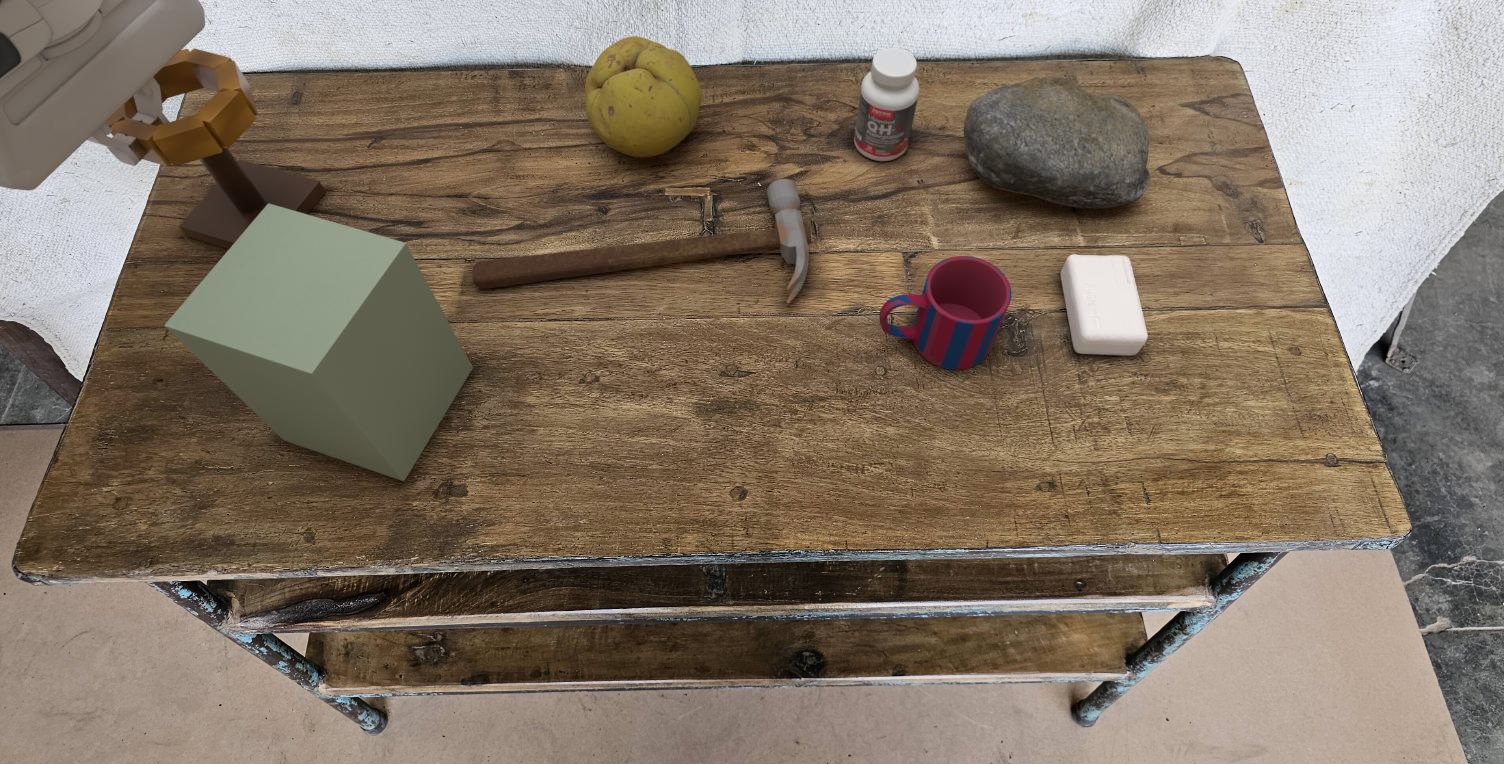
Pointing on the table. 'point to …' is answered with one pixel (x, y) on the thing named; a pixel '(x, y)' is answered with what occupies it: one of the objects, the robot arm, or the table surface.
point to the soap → (1103, 305)
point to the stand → (245, 198)
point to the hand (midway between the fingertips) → (147, 145)
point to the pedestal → (328, 339)
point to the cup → (954, 312)
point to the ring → (196, 132)
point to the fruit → (642, 97)
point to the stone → (1058, 143)
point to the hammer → (666, 250)
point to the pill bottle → (887, 105)
